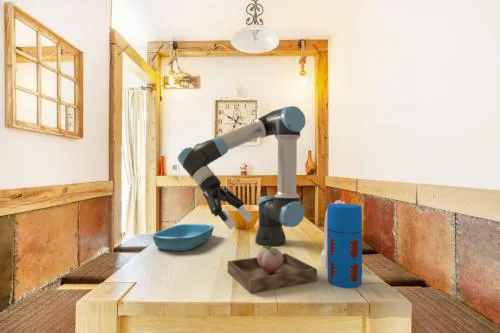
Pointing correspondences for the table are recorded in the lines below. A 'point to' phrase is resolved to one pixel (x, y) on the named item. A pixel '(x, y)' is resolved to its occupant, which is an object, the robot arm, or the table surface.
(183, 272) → the table surface
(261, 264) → the decorative fruit
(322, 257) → the decorative vase
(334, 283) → the thermos
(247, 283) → the walnut tray
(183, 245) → the casserole dish
